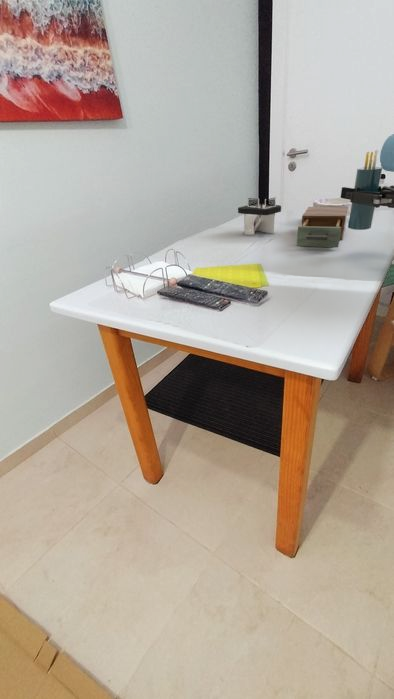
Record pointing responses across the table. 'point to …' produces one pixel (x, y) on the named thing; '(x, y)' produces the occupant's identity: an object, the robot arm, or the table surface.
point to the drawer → (319, 233)
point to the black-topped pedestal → (259, 216)
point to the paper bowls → (333, 203)
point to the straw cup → (366, 182)
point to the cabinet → (327, 215)
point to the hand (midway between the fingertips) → (352, 191)
